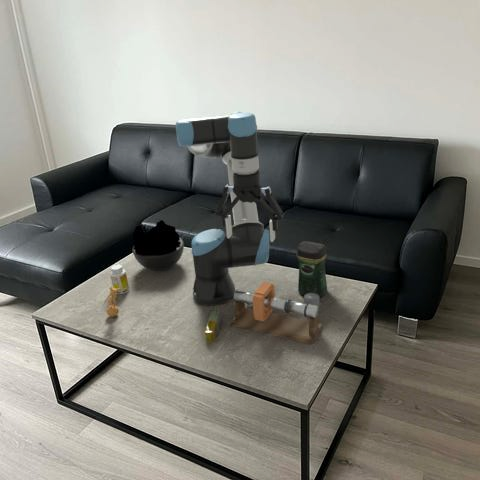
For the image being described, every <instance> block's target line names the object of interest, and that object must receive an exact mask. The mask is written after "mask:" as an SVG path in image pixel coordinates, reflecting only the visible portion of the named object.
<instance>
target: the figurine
mask: <svg viewBox="0 0 480 480" xmlns="http://www.w3.org/2000/svg"><path fill="white" fill-rule="evenodd" d="M117 290H120V293H121V288H118V289H115V288H113V286H110V287H109V293H108V295H107V297H106V298H105V300H104V302H103V306H105V304H106V302H108V303H109V306H108V307H107V308H106V314H107V315H108V317H110V318H115V317H116V316H117V315H118V314H119V312H120V311H119V307H118V306H117V305H116V304H117V303H116V302H117V301H116V300H115V299H116V298H117V296H118V294H117V292H118V291H117ZM112 302H113V303H112Z"/></svg>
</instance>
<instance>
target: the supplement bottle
mask: <svg viewBox="0 0 480 480" xmlns="http://www.w3.org/2000/svg"><path fill="white" fill-rule="evenodd" d="M110 271H111V272H110V274H109V276H110V280H111V284H112V287H113V288H115V289H118V288H121V293H120V290H117V291H118V292H117V295H124V294H126V293H128V292H129V291H130V286H129V280H128V277H127V271H126V270H125V269H124V268H123V265H122V264H119V263H118V264H114V265H112V266H111V268H110Z"/></svg>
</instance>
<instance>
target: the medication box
mask: <svg viewBox="0 0 480 480" xmlns="http://www.w3.org/2000/svg"><path fill="white" fill-rule="evenodd" d="M221 321H222V320H221V313H220V310H219V309H211V310H210V314H209V317H208V321H207V323H206V327H205V331H204V337H205V341H206V343H215V341H216V337H217V335H218V331H219V327H220V323H221Z"/></svg>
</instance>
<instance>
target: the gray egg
mask: <svg viewBox="0 0 480 480" xmlns="http://www.w3.org/2000/svg"><path fill="white" fill-rule="evenodd" d="M303 301H304V302H303V303H305V304H307V303H309V304H310V305H315V306H318V313H319V314H320V297H319V295H318V294H316V293H308V294H306V295H304V296H303Z"/></svg>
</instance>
